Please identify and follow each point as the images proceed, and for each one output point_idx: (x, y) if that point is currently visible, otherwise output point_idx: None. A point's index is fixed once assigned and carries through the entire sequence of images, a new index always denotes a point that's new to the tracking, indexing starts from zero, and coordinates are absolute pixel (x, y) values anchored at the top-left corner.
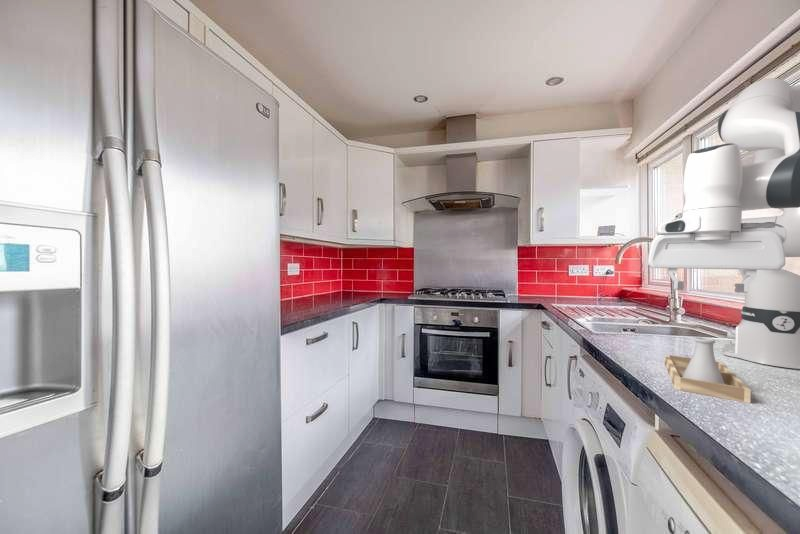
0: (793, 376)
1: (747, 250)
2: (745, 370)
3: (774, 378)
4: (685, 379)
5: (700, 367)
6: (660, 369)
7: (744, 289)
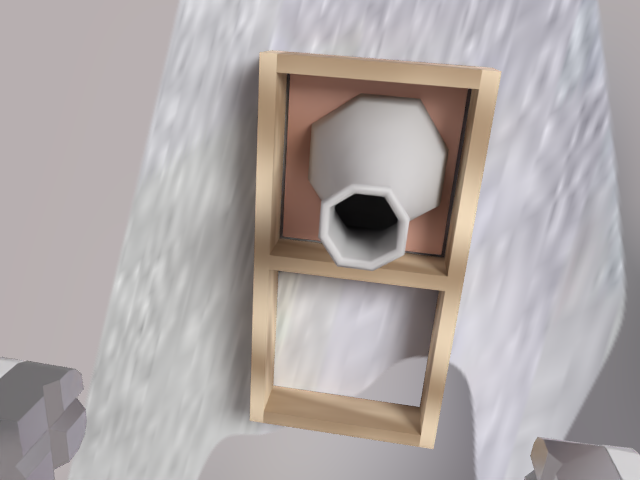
0: None
1: None
2: (182, 460)
3: (126, 405)
4: (464, 68)
5: (395, 140)
6: (468, 335)
7: (3, 370)
